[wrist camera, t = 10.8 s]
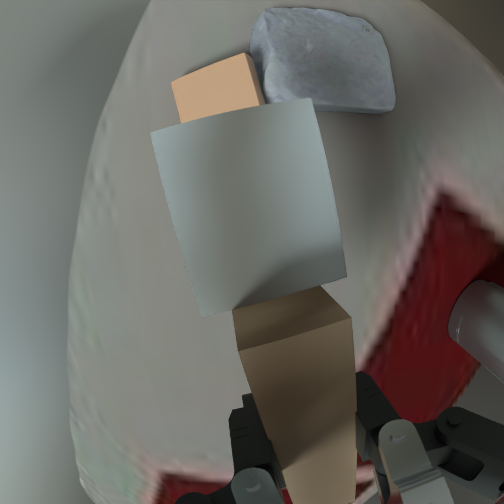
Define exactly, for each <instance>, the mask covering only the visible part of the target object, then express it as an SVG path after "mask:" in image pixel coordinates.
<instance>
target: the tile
mask: <svg viewBox="0 0 504 504" xmlns="http://www.w3.org/2000/svg"><path fill="white" fill-rule="evenodd" d="M171 84H172V88H173V92H174V96H175V100H176V104H177V108H178V112H179V116H180V120H181V123H185V122H188V121H192V120H196V119H200V118H204V117H208V116H212V115H216V114H220V113H225V112H229V111H234V110H238V109H243V108H248V107H254V106H259V105H265V104H266V102H265V98H264V95H263V91H262V88H261V84H260V81H259V77H258V74H257V70H256V67H255V63H254V60H253V58H252V57H250V56H249V55H248V54H246V53H245V52H244V53H241V54H238V55H236V56H233V57H230V58H227V59H224V60H222V61H219V62H217V63H214V64H211V65H209V66H206V67H204V68H201V69H199V70H197V71H194V72H192V73H190V74H187V75H185V76H183V77H181V78H178V79H176V80H174V81H172V82H171Z"/></svg>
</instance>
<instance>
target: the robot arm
mask: <svg viewBox="0 0 504 504" xmlns="http://www.w3.org/2000/svg"><path fill="white" fill-rule="evenodd" d="M448 331H449V335H450V337H451V338H452V339H453V340H454V341H455V342H457V343H458V344H459V345H460V346H461V347H463V348H464V349H465V350H466V351H467V352H468V353H470V354H471V355H472V356H473V357H474V358H475V359H477V360H478V361H479V362H480V363H481V364H482V365H484V366H485V367H486V368H487V369H488V370H489V371H491V372H492V373H493V374H494V375H495V376H496V377H497V378H499V379H500V380H501V381H502V382H503V383H504V288H503V287H501V286H499V285H497V284H495V283H493V282H492V281H491V282H489V283H488V282H486V281H484V280H476V281H474V282H472V283H471V284H470V285H469V286H468V287H467V288H466V289H465V290H464V291H463V292H462V294H461V295H460V296H459V298H458V300H457V302H456V303H455V305H454V308H453V310H452V313H451V315H450V319H449V325H448ZM356 396H357V412H355V426H356V449H357V451H358V453H359V455H360V457H361V459H362V461H363V462H364V461H366V460H369V459H371V461H372V463H373V465H374V467H373V472H374V476H375V480H376V483H377V487H378V491H379V495H380V499H381V503H382V504H454V502H453V499H452V497H451V494H450V492H449V489H448V486H447V484H446V481H445V479H444V477H446V478H448V479H450V480H452V481H454V482H456V483H458V484H460V485H462V486H464V487H466V488H468V489H470V490H473V491H475V492H477V493H479V494H481V495H484V496H486V497H488V498H490V499H492V500H495V504H504V425H502V424H499V423H497V422H495V421H492V420H489V419H487V418H485V417H482V416H480V415H478V414H475V413H473V412H470V411H468V410H466V409H463V408H461V407H450V408H447V409H445V410H444V411H442V412H441V413H440V415H439V416H438V419H435V420H431V421H427V422H423V423H411V422H409V421H407V420H403V419H402V418H401V417H400V416H399V415H398V414H397V412H396V411H395V409H394V408H393V407H392V405H391V404H390V402H389V401H388V400H387V398H386V397H385V395H384V394H383V393H382V391H381V390H380V388H379V387H378V386H377V384H376V383H375V381H374V380H373V379H372V377H371V376H369V375H367V374H366V373H364V372H362V371H360V372H357V373H356ZM242 400H243V406H244V407H243V408H238V409H234V410H232V412H231V415H230V417H229V429H230V438H231V446H232V455H233V463H234V476H233V478H232V480H231V481H230V483H229V484H228V485H226V486H225V487H224V488H222V489H220V490H217V491H215V492H213V493H210V494H208V495H204V494H202V493H198V492H191V493H187V494H184V495H182V496H181V497H180V498H178V499H177V501H176V502H175V504H284V498H283V494H282V491H281V488H284V487H286V483H285V479H284V476H283V472H282V469H281V466H280V463H279V461H278V458H277V455H276V453H275V450H274V447H273V444H272V441H271V440H268V437H267V434H266V431H265V429H264V426H263V423H262V420H261V418H260V415H259V412H258V409H257V406H256V403H255V400H254V398H253V395H252V393H248V394H244V395H242Z"/></svg>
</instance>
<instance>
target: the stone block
mask: <svg viewBox="0 0 504 504" xmlns="http://www.w3.org/2000/svg"><path fill="white" fill-rule="evenodd" d="M250 53H251V56H252V58H253V60H254V63H255V67H256V70H257V74H258V77H259V81H260V84H261V88H262V91H263V95H264V98H265V102H266V104H270V103H276V102H283V101H289V100H297V99H304V98H311V100H312V104H313V107H314V111H334V112H356V113H369V114H382V113H385V112H388V111H391V110H393V109H394V106H395V100H396V95H395V91H394V83H393V78H392V71H391V66H390V59H389V54H388V50H387V48H386V46H385V43H384V41H383V38H382V36H381V34H380V33H379V32H378V31H376V30H374V29H373V26H372V25H371V24H370V23H368V22H366V21H365V20H364V19H362V18H359V17H349V16H346V15H344V14H342V13H339V12H335V11H330V10H320V9H317V10H314V9H310V8H299V7H297V8H291V9H290V8H287V7H285V8H268V9H265V10H264V11H263V12H262V13H261V14H260V15H259V16H258V18H257V20H256V21H255V23H254V26H253V29H252V38H251V43H250Z"/></svg>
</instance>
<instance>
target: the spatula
mask: <svg viewBox="0 0 504 504" xmlns="http://www.w3.org/2000/svg"><path fill="white" fill-rule="evenodd" d="M150 134H151V138H152V143H153V147H154V151H155V156H156V160H157V164H158V168H159V172H160V176H161V180H162V184H163V188H164V192H165V196H166V200H167V203H168V207H169V211H170V214H171V218H172V222H173V225H174V229H175V232H176V236H177V239H178V242H179V246H180V249H181V253H182V256H183V259H184V262H185V266H186V269H187V272H188V275H189V279H190V282H191V285H192V288H193V291H194V294H195V297H196V300H197V303H198V306H199V309H200V312H201V315H202V317H206V316H210V315H214V314H218V313H222V312H226V311H230V310H232V314H233V321H234V327H235V334H236V341H237V348H238V353H239V356H240V359H241V362H242V365H243V368H244V371H245V374H246V377H247V380H248V383H249V386H250V389H251V392H252V395H253V398H254V400H255V403H256V406H257V409H258V412H259V415H260V418H261V420H262V423H263V426H264V429H265V431H266V434H267V437H268V440H271V441H272V444H273V447H274V450H275V453H276V455H277V458H278V461H279V463H280V466H281V469H282V472H283V476H284V479H285V483H286V487H287V489H288V492H289V494H290V497H291V499H292V502H293V504H348V503H351V502H354V501H355V488H356V467H357V449H356V426H355V412H357V396H356V373H355V356H354V342H353V330H352V319H351V317H350V315H349V314H348V313H347V312H346V311H345V310H344V309H343V308H342V307H341V306H340V305H339V304H338V303H337V302H336V301H335V300H334V299H333V298H332V297H331V296H330V295H329V294H328V293H327V292H326V291H325V290H324V289H323V288H322V287H321V286H320V285H323V284H326V283H329V282H333V281H336V280H339V279H342V278H345V277H347V273H346V266H345V258H344V252H343V245H342V239H341V233H340V227H339V221H338V215H337V209H336V204H335V199H334V194H333V189H332V184H331V179H330V174H329V169H328V165H327V160H326V156H325V151H324V147H323V143H322V139H321V134H320V130H319V126H318V122H317V119H316V115H315V111H314V107H313V104H312V100H311V98H304V99H297V100H289V101H283V102H276V103H270V104H265V105H259V106H254V107H248V108H243V109H238V110H234V111H229V112H225V113H220V114H216V115H212V116H208V117H204V118H200V119H196V120H192V121H188V122H185V123H181V124H177V125H174V126H171V127H167V128H164V129H161V130H157V131H154V132H151V133H150Z"/></svg>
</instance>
